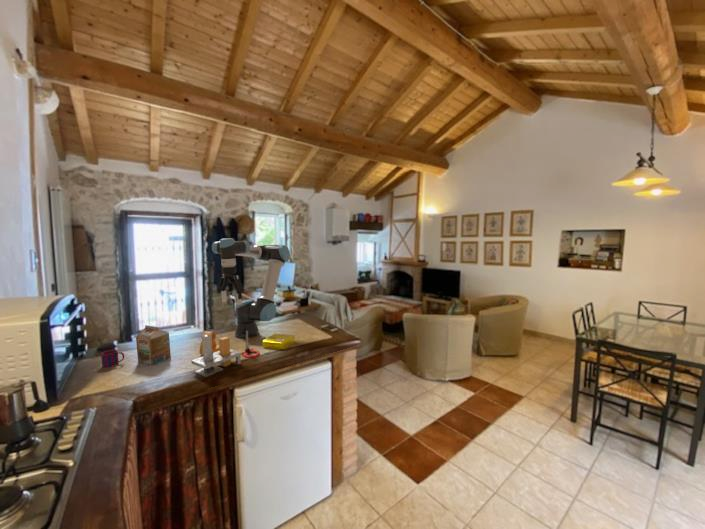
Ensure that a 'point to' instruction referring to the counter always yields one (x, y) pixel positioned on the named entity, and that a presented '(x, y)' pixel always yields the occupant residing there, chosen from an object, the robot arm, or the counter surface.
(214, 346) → the bracket
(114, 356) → the mug
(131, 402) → the counter surface
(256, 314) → the robot arm
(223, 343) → the wedge pin
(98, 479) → the counter surface
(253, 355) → the tow hook
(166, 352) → the milk carton
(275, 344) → the element tile
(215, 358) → the windowed plate knob
